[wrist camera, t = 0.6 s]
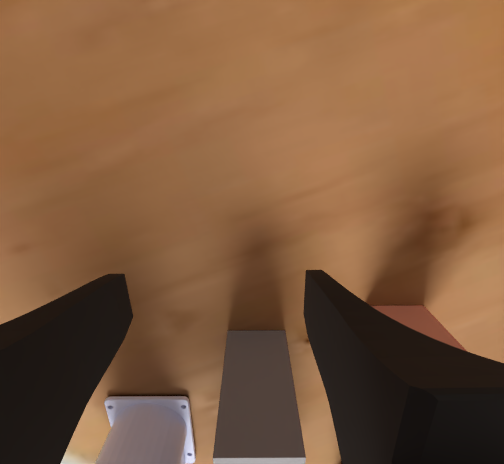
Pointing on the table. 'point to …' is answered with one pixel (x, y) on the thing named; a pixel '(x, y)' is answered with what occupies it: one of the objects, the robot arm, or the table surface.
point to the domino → (258, 402)
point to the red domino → (420, 322)
